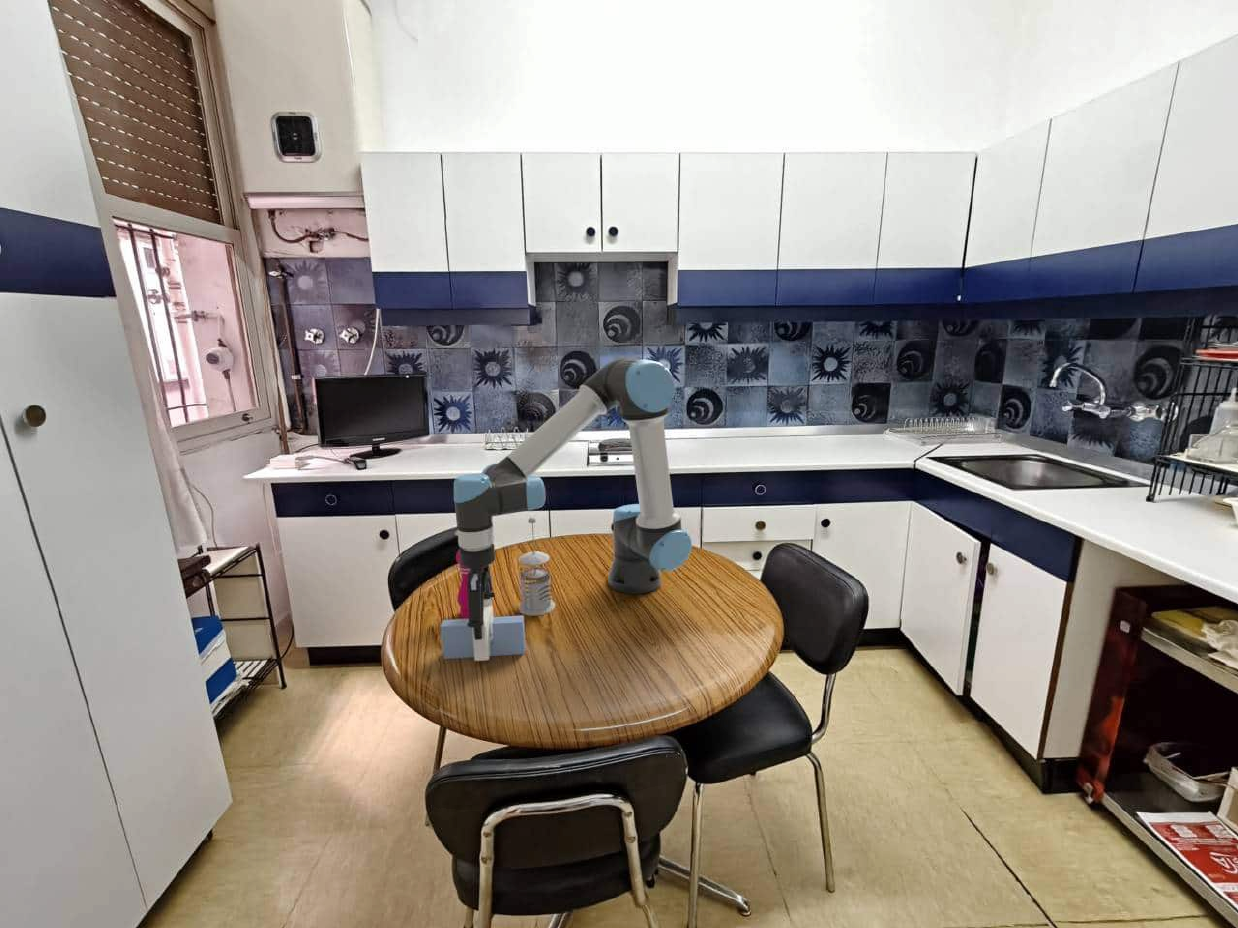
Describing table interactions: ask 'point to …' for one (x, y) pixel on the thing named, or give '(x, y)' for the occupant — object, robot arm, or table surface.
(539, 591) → the french press
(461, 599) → the pepper mill
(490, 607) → the white notched block
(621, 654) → the table surface
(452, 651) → the blue batten
